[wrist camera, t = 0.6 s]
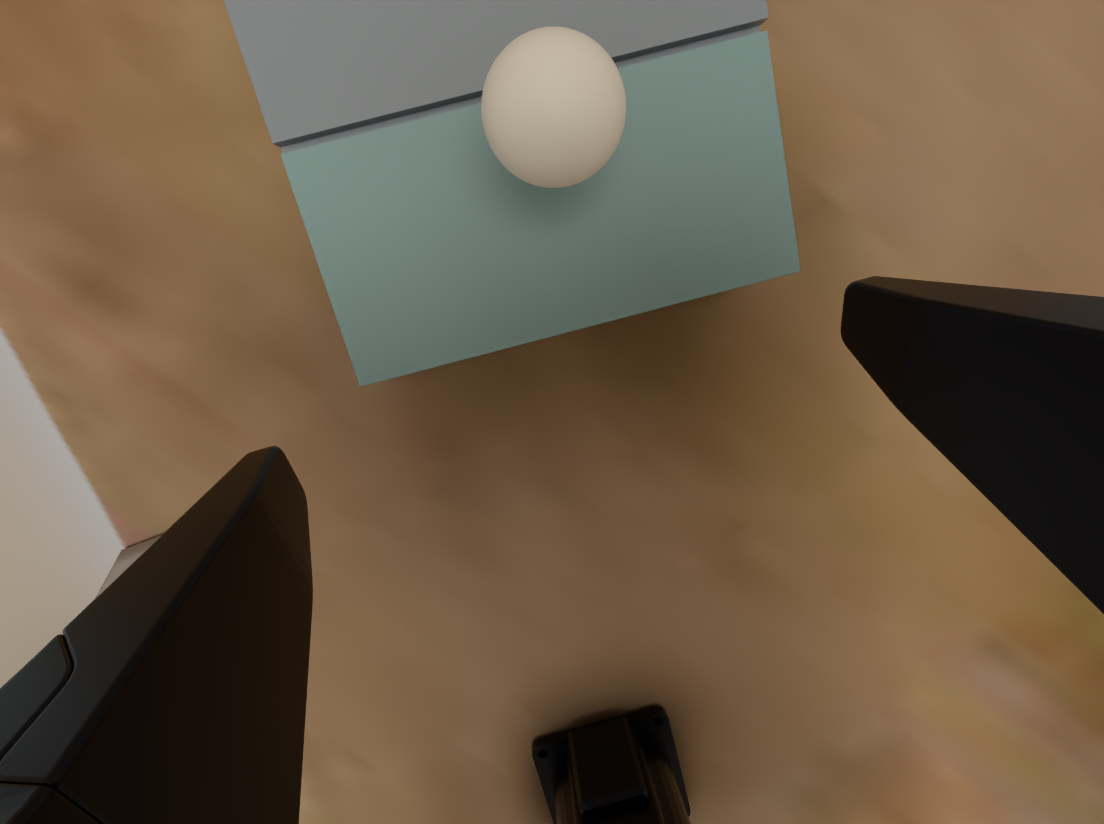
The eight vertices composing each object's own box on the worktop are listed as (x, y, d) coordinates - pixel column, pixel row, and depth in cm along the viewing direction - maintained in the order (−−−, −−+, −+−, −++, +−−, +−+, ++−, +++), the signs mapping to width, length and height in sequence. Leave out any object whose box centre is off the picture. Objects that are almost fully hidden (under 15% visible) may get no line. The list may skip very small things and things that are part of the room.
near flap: (791, 270, 19) (940, 278, 13) (363, 382, 19) (294, 448, 13) (758, 37, 18) (910, -91, 11) (287, 157, 17) (160, 98, 11)
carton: (734, 266, 24) (803, 270, 19) (388, 357, 24) (356, 387, 18) (665, -150, 21) (725, -296, 15) (256, -49, 20) (168, -161, 15)
